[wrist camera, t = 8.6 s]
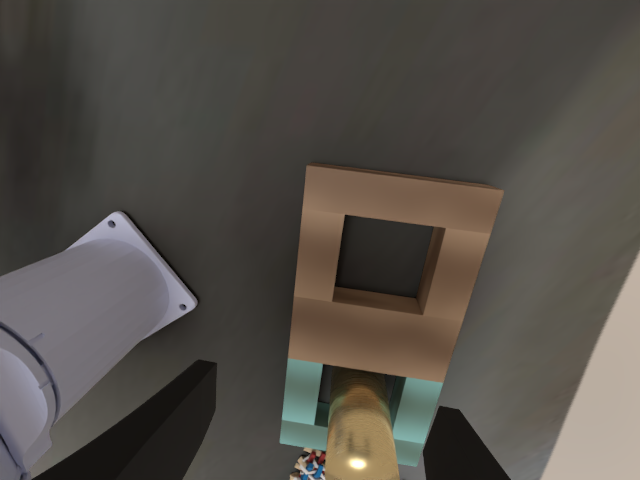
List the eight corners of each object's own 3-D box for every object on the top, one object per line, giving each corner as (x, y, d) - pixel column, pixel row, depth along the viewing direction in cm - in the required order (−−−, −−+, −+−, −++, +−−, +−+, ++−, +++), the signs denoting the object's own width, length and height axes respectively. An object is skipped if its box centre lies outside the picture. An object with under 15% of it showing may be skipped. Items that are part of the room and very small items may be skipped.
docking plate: (411, 440, 23) (416, 466, 22) (285, 419, 24) (279, 442, 22) (486, 184, 17) (504, 190, 15) (311, 162, 17) (306, 165, 15)
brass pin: (349, 402, 23) (349, 510, 16) (321, 367, 22) (310, 465, 15) (393, 384, 22) (413, 489, 15) (367, 346, 21) (374, 440, 14)
